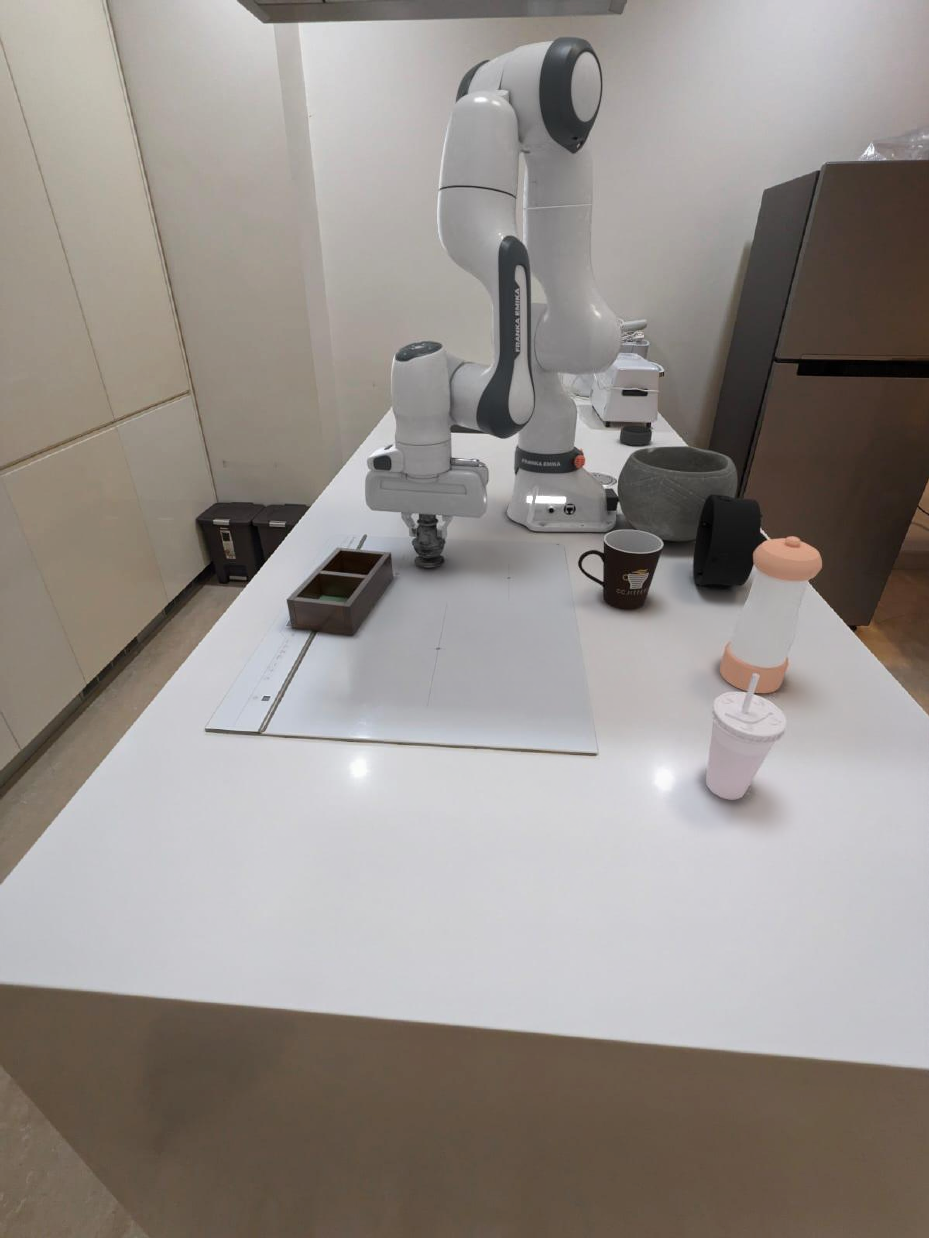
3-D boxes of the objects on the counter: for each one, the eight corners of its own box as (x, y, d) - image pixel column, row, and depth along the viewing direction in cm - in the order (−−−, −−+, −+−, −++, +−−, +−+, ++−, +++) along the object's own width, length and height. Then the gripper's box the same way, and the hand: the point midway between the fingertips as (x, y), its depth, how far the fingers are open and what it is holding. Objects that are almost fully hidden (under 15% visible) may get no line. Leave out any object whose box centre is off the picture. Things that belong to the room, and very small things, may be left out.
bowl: (664, 566, 101) (681, 483, 93) (589, 525, 117) (598, 450, 109) (748, 543, 109) (770, 464, 101) (667, 507, 125) (681, 437, 117)
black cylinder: (794, 519, 81) (719, 513, 83) (766, 608, 89) (697, 600, 91) (773, 486, 93) (707, 481, 95) (750, 567, 101) (689, 561, 103)
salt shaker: (442, 569, 99) (439, 502, 92) (408, 566, 100) (403, 500, 93) (449, 554, 103) (447, 489, 97) (417, 551, 104) (413, 487, 98)
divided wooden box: (393, 578, 97) (391, 552, 95) (353, 635, 82) (349, 606, 80) (340, 572, 99) (337, 547, 97) (291, 628, 84) (286, 599, 82)
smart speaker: (654, 441, 171) (656, 427, 169) (644, 448, 165) (647, 434, 163) (624, 437, 175) (626, 423, 173) (614, 444, 169) (616, 430, 167)
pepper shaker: (776, 700, 70) (828, 557, 60) (713, 681, 73) (753, 542, 63) (784, 670, 75) (833, 533, 65) (725, 653, 79) (763, 520, 68)
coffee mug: (653, 591, 93) (664, 533, 88) (650, 617, 86) (661, 557, 81) (581, 580, 97) (588, 524, 91) (572, 605, 90) (579, 545, 84)
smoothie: (681, 764, 61) (711, 655, 54) (740, 760, 62) (777, 652, 54) (708, 812, 56) (745, 699, 48) (772, 808, 56) (818, 695, 49)
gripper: (492, 453, 92) (491, 533, 100) (371, 447, 96) (378, 525, 104) (484, 466, 87) (484, 549, 95) (357, 459, 91) (366, 539, 98)
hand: (428, 536), depth 99 cm, fingers closed on salt shaker, 3 cm apart
